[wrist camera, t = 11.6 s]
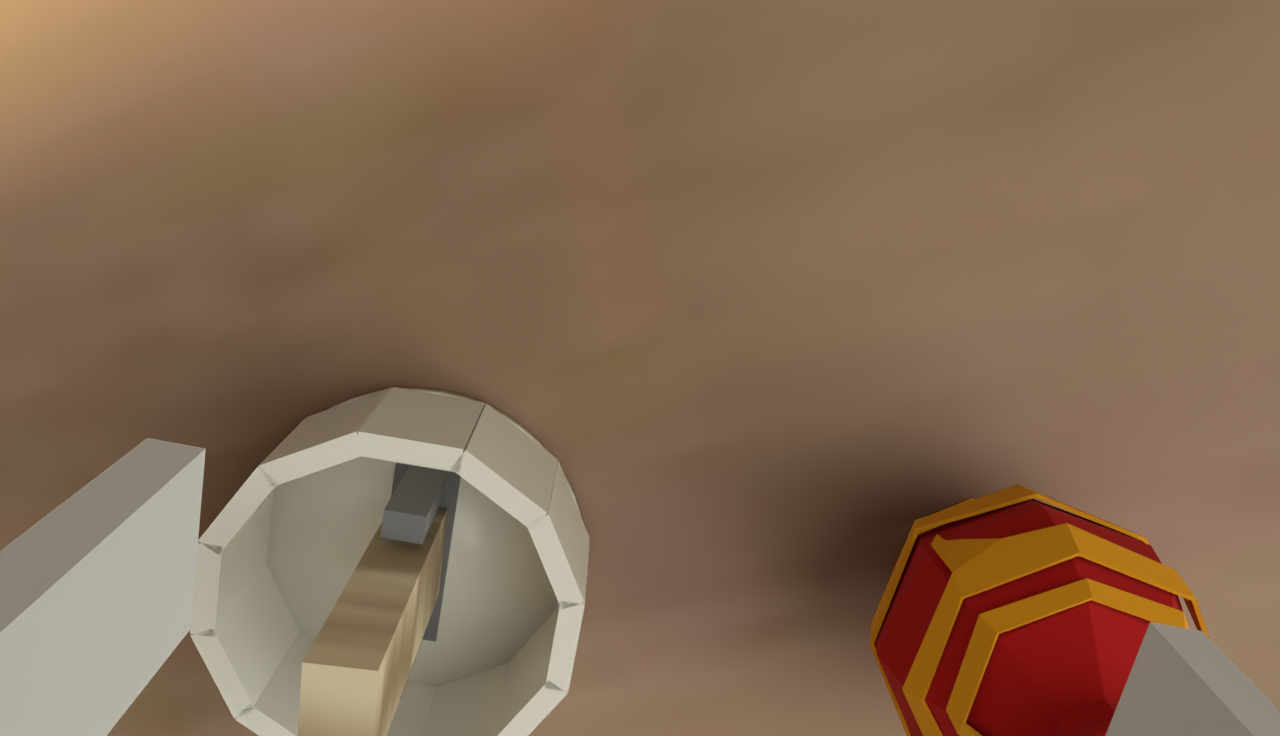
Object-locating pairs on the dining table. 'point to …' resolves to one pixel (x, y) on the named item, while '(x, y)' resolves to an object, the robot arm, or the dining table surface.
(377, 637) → the cream rectangular box
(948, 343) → the dining table surface
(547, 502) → the white round bowl
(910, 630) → the potion bottle
